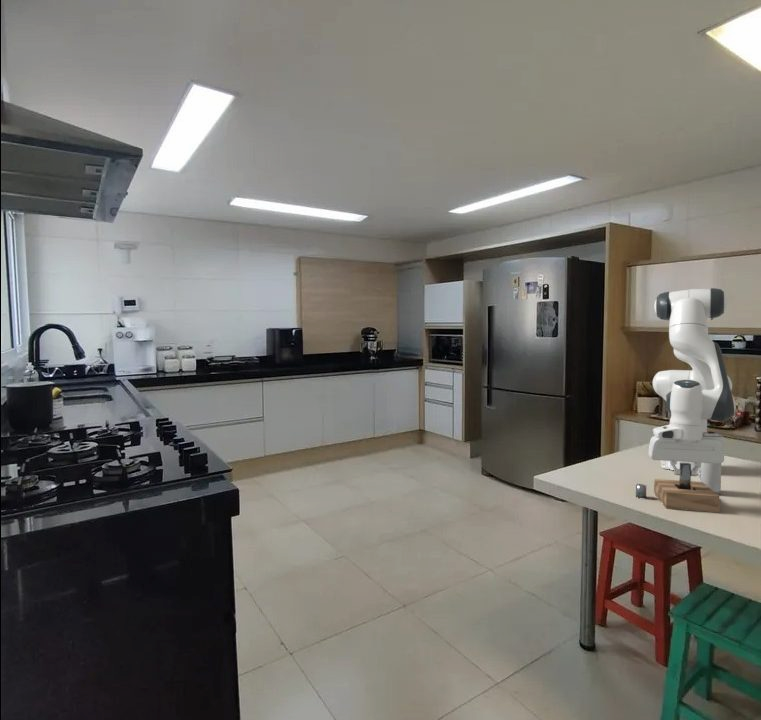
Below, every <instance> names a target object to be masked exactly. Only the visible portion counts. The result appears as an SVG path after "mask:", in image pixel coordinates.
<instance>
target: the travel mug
mask: <svg viewBox="0 0 761 720" xmlns="http://www.w3.org/2000/svg"><path fill="white" fill-rule="evenodd" d="M705 433H716V432H715V431H707V432H705ZM718 434H719V435H721V434H720V433H718ZM712 437H713V436H712ZM719 437H720V436H719ZM697 476H698V479H697V480H698V481H697V482H703V483H704V484H705V485H707V486H708V487H709V488H710V489H711V490H713V491H714V492H715V493H716V494H717V495H719V496H720V495H721V492H722V490H721V487H722V486H721V485H722V481H721V480H722V463H721V464H716V463H701V467H700V468H699V470H698V474H697Z"/></svg>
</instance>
